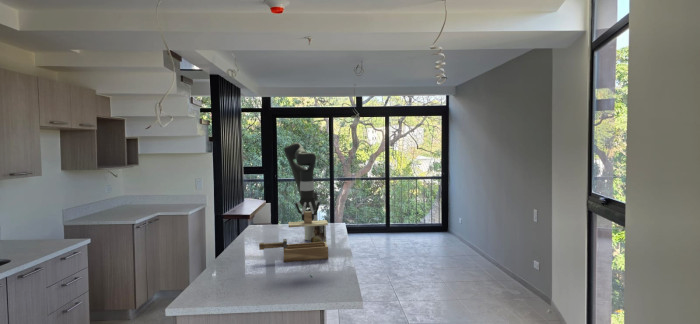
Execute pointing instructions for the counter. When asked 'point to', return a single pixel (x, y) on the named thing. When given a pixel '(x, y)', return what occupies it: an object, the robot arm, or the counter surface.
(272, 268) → the counter surface
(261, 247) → the brown block
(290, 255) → the wooden box
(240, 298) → the counter surface
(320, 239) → the coffee box
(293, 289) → the counter surface
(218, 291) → the counter surface
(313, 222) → the lid
